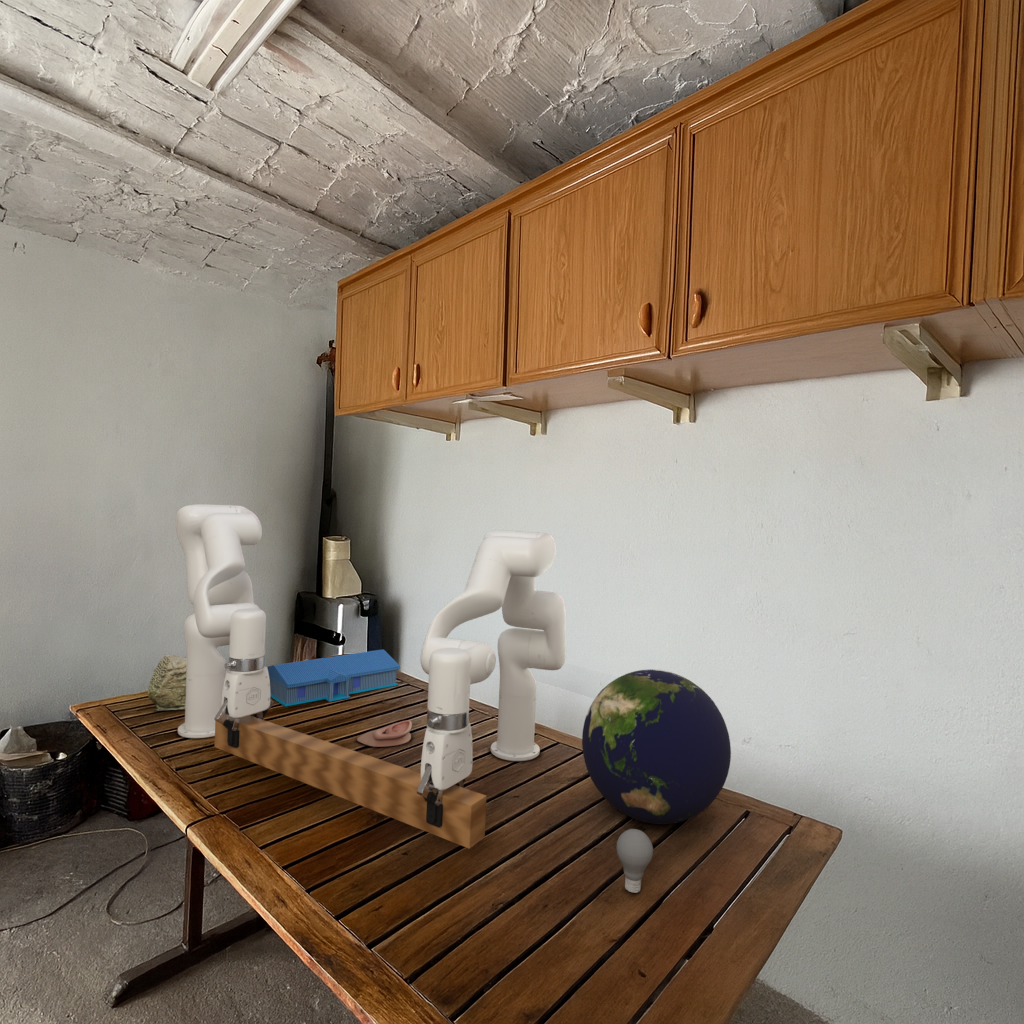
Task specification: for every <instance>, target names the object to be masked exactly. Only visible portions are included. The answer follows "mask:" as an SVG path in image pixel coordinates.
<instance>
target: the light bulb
mask: <svg viewBox="0 0 1024 1024" xmlns="http://www.w3.org/2000/svg"><path fill="white" fill-rule="evenodd" d="M615 849H616V854H617V857H618V859H619V861H620V863H621V865H622V867H623V873H624V874H623V875H624V876H625V878H624V888H625V890H627V891H628V892H630V893H634V894H635V893H639V892H640V891H641V889H642V887H641V886H642V879H643V877H644V875H645V871H646V868H647V867H648V866H649V864H650V863H651V861H652V859H653V855H654V847H653V843H652V841H651V838H649V836H648V835H647V834H646V833H645V832H643V831H642V830H641V829H636V828H629V829H627V830H625V831H623V832H622V833H621V834H620V835H619V837H618V839H617V841H616V847H615Z"/></svg>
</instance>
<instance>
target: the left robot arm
mask: <svg viewBox="0 0 1024 1024" xmlns="http://www.w3.org/2000/svg"><path fill="white" fill-rule="evenodd" d="M175 531H176V536H177V539H178V541H179V544H180V546H181V549H182V551H183V554H184V558H185V559H184V560H185V571H186V572H185V573H186V585H187V595H188V600H189V602H190V604H191V605H193V612H194V613H192V614H190V615H189V616H187V618H186V619H185V620H184V623H183V635H184V641H185V651H186V652H185V653H186V657H187V668H186V701H185V709H184V722H182V724H180V725H179V726H178V727H177V734H178V735H179V736H180V737H182V738H188V739H207V738H212V737H215V721H217V722H219V723H221V724H222V725H223V726H225V728H227V729H228V735H227V742H228V745H229V746H231V747H234V748H238V747H239V730H237V727H238V723H239V720H240V718H242V717H245V716H249V715H250V716H253V717H256V718H259V719H262V720H265V717H266V715H267V714H268V712H269V710H270V709H271V708H272V707H273V705H274V703H275V702H274V701H273V700H272V697H271V695H270V679H269V673H268V669H267V667H268V666H266V665H265V659H266V657H265V655H266V633H267V632H266V629H267V627H266V626H267V615H266V612H265V611H264V610H263V609H261V608H260V607H259V606H258V604H256V603H255V600H254V589H253V583H252V578H251V577H250V575H249V574H248V573H247V572H246V571H245V568H246V562H245V557H244V552H243V549H242V546H255V545H257V544H259V543H260V542H261V539H262V538H263V537H262V536H263V527H262V523H261V521H260V518H259V517H258V516H257V515H256V513H254V512H253V511H252V510H250V509H248V508H247V507H245V506H243V505H238V504H237V505H236V504H211V503H209V504H208V503H207V504H205V503H197V504H195V503H194V504H188V505H185V506H182V507H181V508H179V510H178V511H177V513H176V515H175ZM223 646H224V647H225V646H229V649H228V650H229V651H228V662H227V661H226V659H225V657H224V656H223V655H222V653H220V651H218V649H217V648H219V647H223ZM225 715H228V717H227V719H225ZM233 718H234V719H233ZM232 721H233V723H232Z"/></svg>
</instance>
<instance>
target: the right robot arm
mask: <svg viewBox="0 0 1024 1024" xmlns="http://www.w3.org/2000/svg"><path fill="white" fill-rule="evenodd" d="M556 556H557V544H556V541H555V539H554V537H553V536H552V534H550V533H548V532H538V531H521V530H508V529H505V530H504V529H495V530H494V529H493V530H490V531H487V532H486V533H485V534H484V536H483V538H482V541H481V542H480V543H479V545H478V547H477V551H476V553H475V556H474V560H473V562H472V566H471V570H470V572H469V575H468V578H467V582H466V584H465V588H464V590H463V591H462V593H460V594H458V595H457V596H455V597H453V599H451V600H450V601H448V602H447V603H446V604H445V605H444V606H443V607H442V608H440V609H439V610H438V612H437V613H436V614H435V615H434V617H433V618H432V619H431V621H430V624H429V626H428V630H427V631H426V635H425V638H424V641H423V644H422V647H421V651H420V661H419V662H420V667H421V669H422V670H423V672H424V673H425V674H427V675H428V685H427V688H428V689H427V708H426V710H427V711H426V729H425V733H424V738H423V742H422V743H423V744H422V751H421V759H420V760H421V761H420V773H421V782H420V784H419V787H418V789H417V794H419V795H420V796H422V797H423V798H424V799H425V802H427V812H426V822H427V823H429V824H431V825H434V826H436V827H441V826H442V816H443V804H441V799H442V793H443V790H446V789H448V788H449V787H451V786H453V785H457V786H460V787H463V788H465V785H464V784H465V781H466V779H467V778H468V777H469V776H470V775H471V774H472V772H473V763H474V762H473V761H474V759H473V757H474V756H473V754H474V753H473V750H474V749H473V732H472V726H471V722H470V721H469V720H470V698H471V685H474V684H478V683H481V682H484V681H486V680H487V679H488V678H490V676H491V675H492V673H493V672H494V670H495V668H496V661H497V660H496V659H497V657H496V654H495V653H496V652H495V650H494V648H493V647H492V646H491V645H490V644H488V643H486V642H482V641H477V640H467V639H460V638H452V637H448V636H449V634H450V633H451V632H452V631H453V630H455V629H456V628H457V627H459V626H460V625H462V624H464V623H467V622H470V621H473V620H474V619H479V618H481V617H485V616H487V615H488V616H489V615H490V614H493V613H495V612H497V611H499V610H500V609H501V613H502V619H503V621H504V623H505V624H506V625H508V626H511V627H512V628H507V629H505V630H504V631H502V632H501V633H500V634H499V637H498V639H497V656H498V663H499V690H498V707H497V708H498V711H497V712H498V713H497V731H496V741H494V742H492V744H491V745H490V753H491V754H492V755H493V756H494V757H496V758H498V759H500V760H504V761H510V762H526V761H531V760H533V759H536V758H537V757H538V756H539V755H540V753H541V748H540V746H539V745H538V743H536V742H535V735H536V734H535V733H536V731H535V730H536V711H537V710H536V709H537V691H538V689H537V681H536V679H535V676H534V674H533V673H532V671H531V670H530V669H536V670H545V671H558V670H561V669H562V668H563V666H565V662H566V659H567V611H566V603H565V599H564V598H563V596H562V595H561V594H559V593H558V592H554V591H545V590H538V589H537V588H536V578H537V577H540V576H541V575H542V574H544V573H546V572H547V571H548V570H549V569H550V568H551V567H552V566H553V564H554V562H555V559H556ZM433 789H436V790H437V792H436V796H435V795H434V794H433V793H432V791H433Z"/></svg>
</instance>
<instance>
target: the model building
mask: <svg viewBox="0 0 1024 1024" xmlns="http://www.w3.org/2000/svg"><path fill="white" fill-rule="evenodd" d="M266 667H267V669H268V673H269V679H270V695H271V697H270V698H271V699H273V700H274V701H276V702H277V703H279V704H280V705H282V706H283V707H290V706H297V705H302V704H307V703H312V702H317V701H323V700H325V701H327V702H329V703H330V702H335V701H341V700H346V699H347V700H348V699H350V698H351V695H353V694H359V693H364V692H365V693H366V692H369V691H373V690H381V689H385V688H390V687H391V688H392V687H395V686H399V683H398V682H397V670H400V669H401V665H400V664H399V663H398V662H397V661H396V660H395V659H394V658H393V657H392V656H391V654H389V653H388V652H387V651H386V650H385V649H376V650H368V651H363V652H356V653H349V654H342V655H341V654H340V655H335V656H329V657H328V656H327V657H321V658H315V659H314V658H313V659H307V660H300V661H293V662H287V663H278V664H272V665H268V666H266Z"/></svg>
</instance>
